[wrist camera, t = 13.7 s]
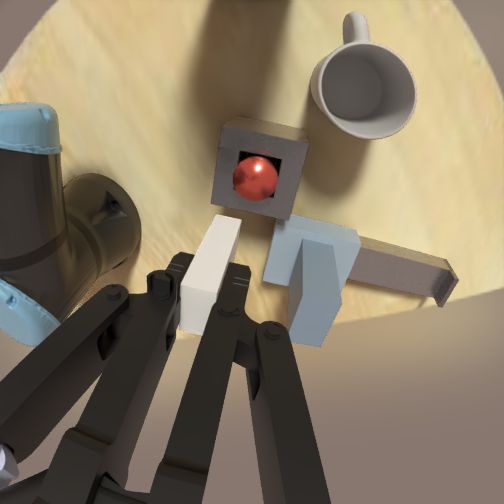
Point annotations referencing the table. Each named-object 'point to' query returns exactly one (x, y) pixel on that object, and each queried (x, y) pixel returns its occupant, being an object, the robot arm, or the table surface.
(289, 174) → the grey cube box
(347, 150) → the table surface
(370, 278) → the rail
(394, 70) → the mug
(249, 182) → the plunger
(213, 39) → the table surface
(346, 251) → the carriage
